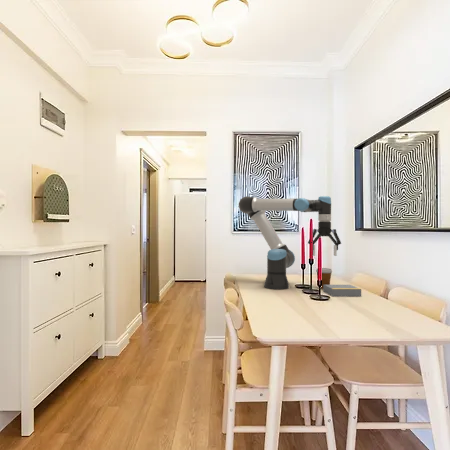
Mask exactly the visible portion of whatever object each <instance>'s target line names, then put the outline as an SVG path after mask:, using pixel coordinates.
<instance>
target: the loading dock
mask: <svg viewBox="0 0 450 450" xmlns="http://www.w3.org/2000/svg"><path fill="white" fill-rule="evenodd" d="M322 290H323V293H326V294H328V295H330V296H331V297H362V288H360V287H357V286H355V285H352V284H330V285H323V289H322Z"/></svg>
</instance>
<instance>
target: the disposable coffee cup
mask: <svg viewBox="0 0 450 450" xmlns="http://www.w3.org/2000/svg"><path fill="white" fill-rule="evenodd" d="M318 268H319V267H317V268H316V270H315V271H316V277H317V279H318ZM321 268H322V287H321V289H322V290H323V285H331V278H332V272H333V270H332V268H328V267H321ZM321 289H320V290H321Z"/></svg>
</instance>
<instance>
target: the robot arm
mask: <svg viewBox="0 0 450 450" xmlns="http://www.w3.org/2000/svg"><path fill="white" fill-rule="evenodd" d="M238 208H239V210H240V212H241V213H244V214H247V216H248V217H249V218H250V221H251V220H252V221H254V223H255V224H256V226H257V227H258V229H259V231H260V233H261V235H262V237H263V238H264V240H265V242H266V243H267V245H268V247H269V248H270V249H269V250H268V251H267V255H266V257H267V258H266V259H267V260H266V261H267V263H266V264H267V265H266V268H267V271H266V272H267V273H266V277H265V280H264V284H263V285H264V288H266V289H269V290H272V289H273V290H287V289H289V288H290V283H289V280H288V277H287V269H288V268H290V267H292V266H293V265H294V264H295V260H296V256H295V253H294V252H293V251H292V250H290V249H289V247H288V246H287V244H286V243H283V242H282V240H281V239H280V237H279V235H278V234H277V232H276V230H275V229H274V227H273V225H272V224H271V222H270V220H269V219H268V217H267V216H266V215H267V214H266V211H267V212H269V211H271V212H272V211H273V212H274V211H276V212H277V211H279V212H281V211H282V212H284V211H286V212H290V211H291V212H301V213H317V215H318V218H317V219H318V224H317V227H318V229H317V228H313V229H312V233H313V240H312V241H313V255H312V256H314V257H315V256H316V245H315V244H316V243H317V241H318V240H319V239H320V238H321V237H328V238H329V239H330V240H331V242H332V243H333V256H335V257H336V256H338V255H337V254H338V253H337V251H338V250H339V245H341V244H342V241H341V239H340V237H339V235H338V234H337V229H334V228H333V229H332V222H331V221H332V197H331V196H328V195H323V196H321V195H320V196H318V199H307V198H305V197H299V198H258V197H256V196H253V197H252V196H248V195H247V196H242V198H241V199H240V200H239V201H238ZM317 232H318V233H317ZM316 234H317V235H316ZM315 236H316V237H315ZM319 237H320V238H319ZM307 245H310V238H309V239H308V241H307Z"/></svg>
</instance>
